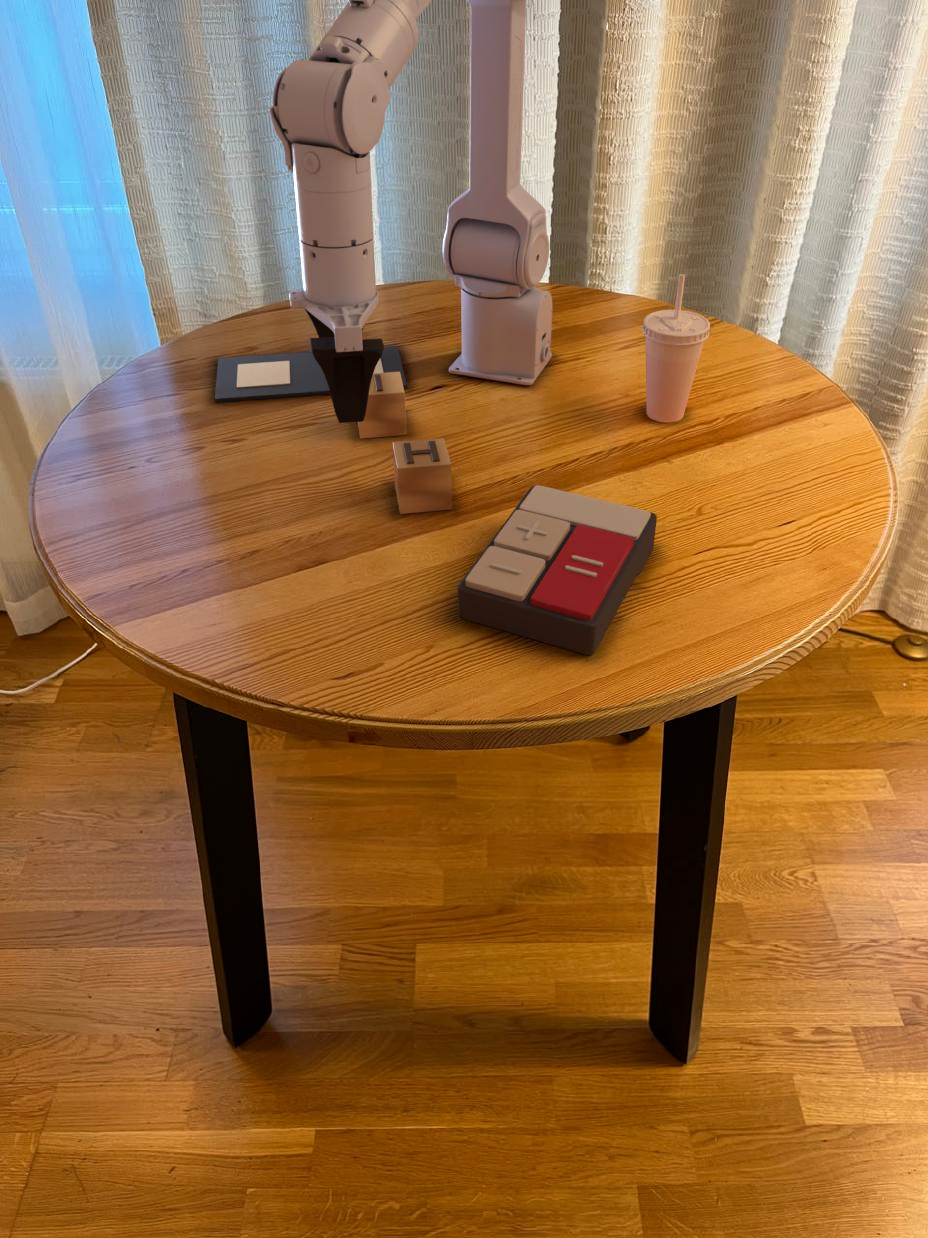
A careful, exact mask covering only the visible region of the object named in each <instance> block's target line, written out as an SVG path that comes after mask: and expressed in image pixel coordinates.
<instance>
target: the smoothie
mask: <svg viewBox="0 0 928 1238" xmlns="http://www.w3.org/2000/svg"><path fill="white" fill-rule="evenodd" d="M685 279H686V274H685V273H679V274H678V281H677V289H676V296H675V304H674V309H661V310H655V311H653V312H651V313H649V314H647V315H646V316H645V317H644V318H643V322H642V327H641V332H642V334H643V336H645V337H644V339H645V341H644V342H645V343H644V346H645V347H644V349H645V389H646V390H645V396H646V400H645V402H646V416H647V417H648V418H649V419H651V420H652V421H656V422H660V423H665V424H666V423H667V424H668V423H675V422H679V421H681V420H682V419H683V417H684V416H685V411H686V408H687V405H688V400H689V397H690V394H691V390H692V387H693V384H694V380H695V376H696V372H697V369H698V366H699V363H700V358H701V355H702V351H703V347H704V343H705V341H706V340H707V339H708V338H709V337H710V333H711V332H710V329H711V323H710V321H709V320H708V319H707V317H704V316H703V315H701V314H699V313H697V312H694V311H690V310H683V309H682V304H683V303H682V302H683V295H684V287H685Z"/></svg>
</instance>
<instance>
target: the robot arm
mask: <svg viewBox="0 0 928 1238" xmlns="http://www.w3.org/2000/svg"><path fill="white" fill-rule="evenodd" d="M432 1H433V0H348V1H347V3H346V5H345V6H344V7H343V9H342V10H341V12H340V13H339V15H338V16H337V18H336V19H335V20H334V22H333V24H332V25H331V26H330V27H329V29H328V31H326V33H325V34H324V36H323V37H322V39H321V40H320V42H319V44H317V46H316V47H315V49H314V50H313V52H312V53H311V55H310V56H309V58H308V59H302V58H301V59H296V60H294V61H292V62H291V63H290V64H289V65H288V66H287V67H285V68H284V69H283V70H281V72H280V73H279V75H278V77H277V79H276V81H275V85H274V87H273V88H274V89H273V93H272V94H273V95H272V107H270V108H269V114H270V115H269V116H270V120H271V125H272V127H273V130H274V132H275V134H276V136H277V138H278V139H279V141H280V143H281V145H282V149H283V155H284V165H285V166H286V167H287V170H288V172H290V173H292V174H293V183H294V184H293V185H294V195H295V207H296V218H297V228H298V229H297V231H298V241H299V250H300V251H299V252H300V263H301V275H302V287H303V288H302V289H303V290H299V291H291V292H290V293H289V294H288V297H289V306H290V307H291V308H292V309H304V311H305V312H306V313H307V315H308V317H309V319H310V320H311V322H312V324H313V327H314V328H315V331H316V334H317V336H318V337H311V338H309V346H310V352H312V354H313V356H314V358H315V360H316V361H317V363H318V364H319V366H320V367H321V369H322V371H323V373H324V375H325V378H326V380H327V383H328V386H329V390H330V394H329V395H330V398H331V401H332V406H333V409H334V413H335V416H336V419H337V421H338V423H339V424H344V423H345V424H346V423H358V422H362V421H364V418H365V414H366V409H367V403H368V395H369V389H370V384H371V379H372V376H373V373H374V370H375V367H376V365H377V363H378V361H379V359H380V358H381V356H382V353H383V349H384V347H385V344H384V341H383V338H367V339H363V330H364V326H365V324H366V323H367V321H368V320H369V319H370V318H371V316H372V314H373V313H374V311H375V310H376V308H377V307H378V306H379V302H380V299H379V298H380V297H379V291H378V290H377V286H376V284H377V283H376V261H375V241H374V239H375V238H374V219H373V218H374V217H373V216H374V215H373V195H372V194H373V191H372V172H371V171H372V169H371V151H372V150H373V148H374V147H375V146H376V145H377V144H378V143H379V141H380V139H381V137H382V134H383V130H384V125H385V120H386V119H385V118H386V117H385V116H386V112H387V109H388V107H389V105H390V99H391V92H390V90H391V88H392V86H393V85H394V83H395V82H396V80H397V79H398V77H399V76H400V74H401V72H402V71H403V69H404V68H405V66H406V65H407V63H408V62H409V59H410V58H411V57H412V56H413V53H414V52H415V51H416V49H417V46H418V42H419V27H418V23H417V20H418V19H419V17H420V16H421V15H422V14H423V12H424V11H425V10H426V9H427V7H428V6H429V5H430V4H431V3H432ZM465 1H466V2H467V4H468V5H469V8H470V31H469V33H470V37H469V38H470V40H469V41H470V43H469V44H470V45H469V46H470V47H469V48H470V49H469V177H468V178H469V181H468V182H469V185H468V186H469V187H468V189H467V190H465V191H464V192H462V193H461V194H460V195H458V196H457V197H456V198H455V199H454V200H453V201H452V202H450V205H449V206H448V208H447V217H446V218H447V219H446V227H445V232H444V235H443V239H442V249H441V251H442V253H441V254H442V261H443V263H444V266H445V269H446V271H447V273H448V274H449V275H451V276H452V277H454V286H455V287H457V288H458V287H459V288H460V309H461V310H460V312H461V316H460V317H461V327H460V328H461V331H460V332H461V334H460V335H461V354H460V355H459V356H458V357H457V358H456V359H455V361H453V362H452V364H451V365H450V366H449V367H448V372H449V374H453V375H460V376H467V377H472V378H477V379H483V380H490V381H498V382H503V383H504V382H505V383H510V384H516V385H521V386H531V385H533V384H534V383H535V382H536V380H537V379H538V377H539V375H540V374H541V373H542V372H543V370H544V369H545V367H546V366H547V364H548V363H549V361H550V360H551V359H552V358H553V353H552V352H551V349H552V347H551V346H552V330H553V329H552V327H553V325H552V324H553V296H552V293H551V292H550V291H548V290H545V289H544V290H543V289H541V288H537V287H536V286H537V285H538V284H539V283H540V282H541V281H542V279H543V277H544V275H545V272H546V270H547V267H548V263H549V258H550V239H549V236H548V230H547V215H546V208H545V207H544V206H543V205H542V204H541V203H540V202H539V201H538V200H537V199H535V198H534V197H533V196H532V195H531V194H530V192H528V191H527V190H526V189H525V188H524V187H523V186H522V185H521V169H522V168H521V167H522V139H523V115H524V114H523V113H524V112H523V110H524V86H525V85H524V83H525V59H526V58H525V56H526V55H525V54H526V27H527V25H526V24H527V4H528V3H527V1H528V0H465Z"/></svg>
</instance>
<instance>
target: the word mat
mask: <svg viewBox="0 0 928 1238" xmlns="http://www.w3.org/2000/svg"><path fill="white" fill-rule="evenodd" d="M217 359H218V360H217V370H216V380H215V391H214V394H215V395H214V401H215V402H214V403H225V402H239V401H252V400H265V399H279V398H293V397H306V396H308V397H309V396H320V395H321V396H322V395H331V394H330V390H329V386H328V383H327V380H326V378H325V375H324V373H323V371H322V369H321V367H320V366H319V364H318V363H317V361H316V360H315V358H314V356H313V354H312V352H311V351H304V352H303V351H301V352H289V353H275V354H274V353H273V354H262V355H261V354H259V355H258V354H257V355H245V356H232V357H231V356H230V357H218V358H217ZM388 372H400V374H401V378H402V383H403V387H404V389H407V388H408V384H407V379H406V376H405V375H406V374H405V371H404V367H403V363H402V358H401V354H400V350H399V346H398V345H391V346H388V345H387V346H384V349H383V353H382V356H381V358H380V359H379V361H378V363H377V365H376V367H375V370H374V373H388ZM374 373H373V374H374Z"/></svg>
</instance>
